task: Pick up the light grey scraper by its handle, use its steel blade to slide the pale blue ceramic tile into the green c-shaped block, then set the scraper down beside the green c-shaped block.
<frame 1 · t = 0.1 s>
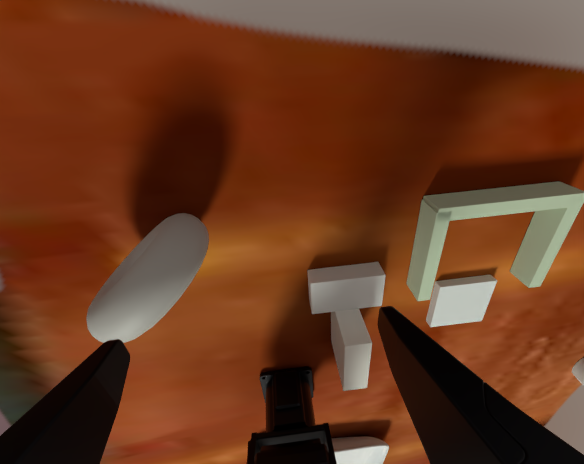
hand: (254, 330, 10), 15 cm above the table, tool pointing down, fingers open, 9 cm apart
tile: (454, 295, 32), on the table
donut: (171, 234, 24), on the table
salad plate: (315, 457, 51), on the table
green c-shaped block: (476, 238, 27), on the table
scraper: (341, 318, 32), on the table
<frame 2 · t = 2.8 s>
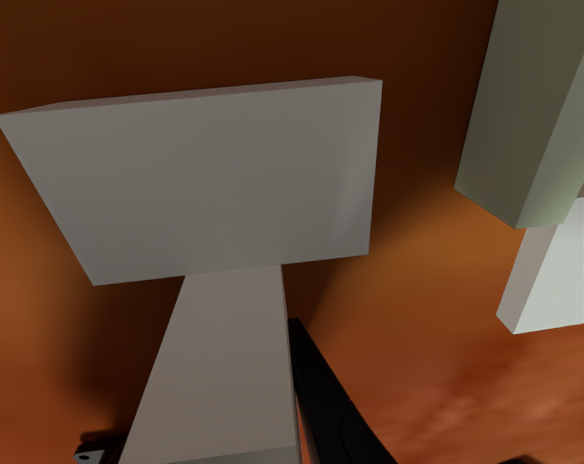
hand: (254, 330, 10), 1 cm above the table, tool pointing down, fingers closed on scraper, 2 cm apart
tile: (580, 241, 11), on the table
scraper: (254, 308, 11), on the table, touching gripper
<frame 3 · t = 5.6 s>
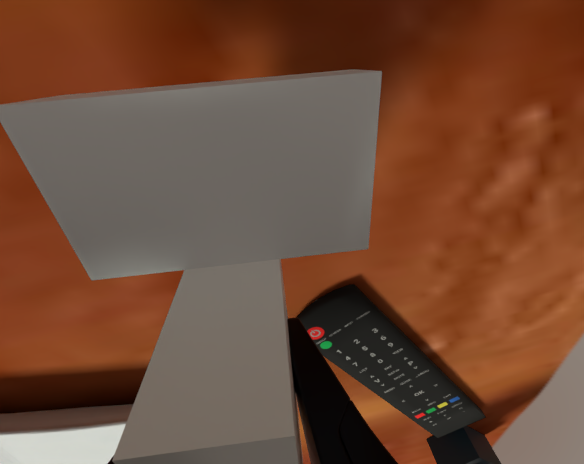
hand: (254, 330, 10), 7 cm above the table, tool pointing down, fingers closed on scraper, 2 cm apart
abstract loop sculpture: (454, 435, 32), on the table
salad plate: (115, 445, 27), on the table
remote control: (398, 364, 25), on the table
scraper: (254, 305, 11), point 6 cm above the table, touching gripper
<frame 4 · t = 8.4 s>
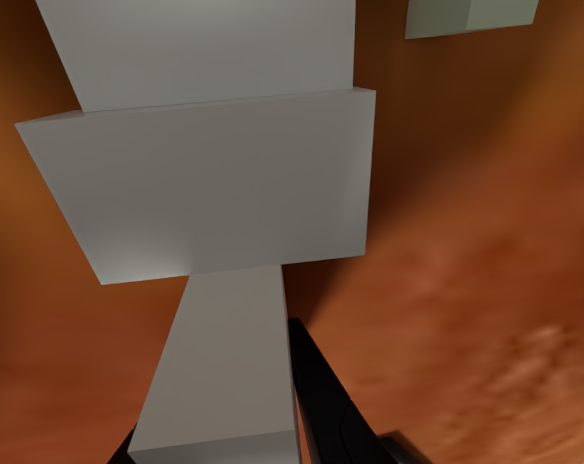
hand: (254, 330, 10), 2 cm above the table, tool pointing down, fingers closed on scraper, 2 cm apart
scraper: (255, 309, 11), on the table, touching gripper
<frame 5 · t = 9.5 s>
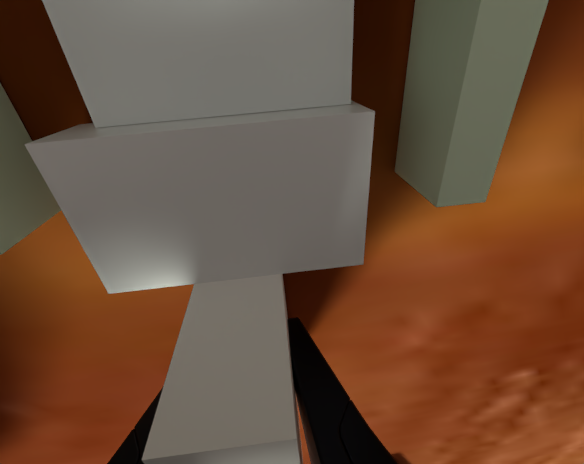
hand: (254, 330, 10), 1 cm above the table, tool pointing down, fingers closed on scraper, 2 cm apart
scraper: (256, 312, 11), on the table, touching gripper
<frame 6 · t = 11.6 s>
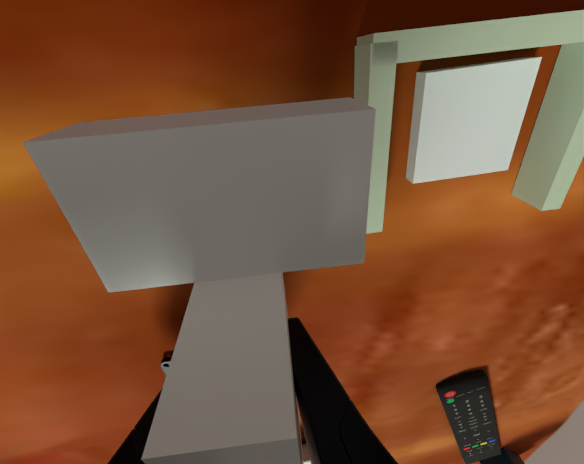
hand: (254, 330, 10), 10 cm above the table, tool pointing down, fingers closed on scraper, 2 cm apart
abstract loop sculpture: (497, 455, 45), on the table
tile: (455, 121, 17), on the table
green c-shaped block: (455, 130, 17), on the table
remote control: (467, 414, 38), on the table
scraper: (257, 310, 11), point 9 cm above the table, touching gripper
when the fingers open (3 cm above the table, at t = 13.2 s): scraper drops 1 cm, on the table.
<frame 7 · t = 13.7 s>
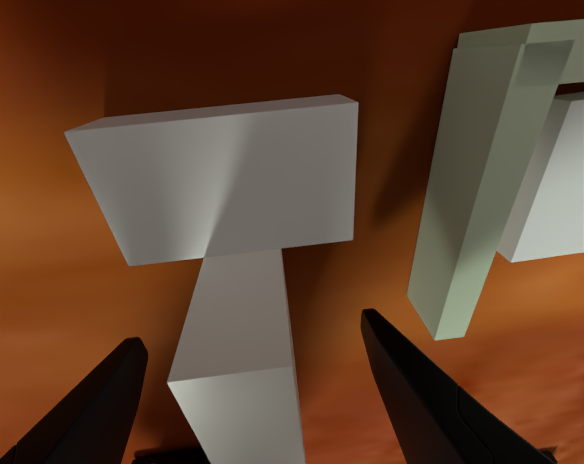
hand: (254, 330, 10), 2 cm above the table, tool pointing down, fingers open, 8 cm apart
tile: (579, 168, 11), on the table
green c-shaped block: (581, 184, 11), on the table
scraper: (258, 291, 12), on the table
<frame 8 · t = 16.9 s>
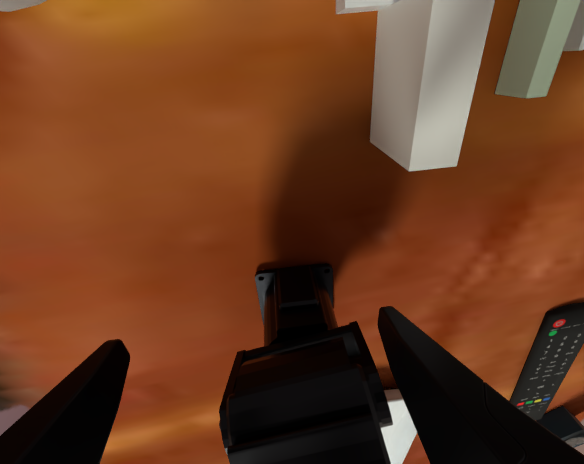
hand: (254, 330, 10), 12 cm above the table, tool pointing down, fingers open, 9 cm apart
abstract loop sculpture: (553, 416, 44), on the table
salad plate: (328, 421, 39), on the table
remote control: (536, 364, 37), on the table
scraper: (392, 81, 17), on the table
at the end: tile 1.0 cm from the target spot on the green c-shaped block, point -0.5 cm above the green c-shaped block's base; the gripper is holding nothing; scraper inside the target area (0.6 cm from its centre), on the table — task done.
